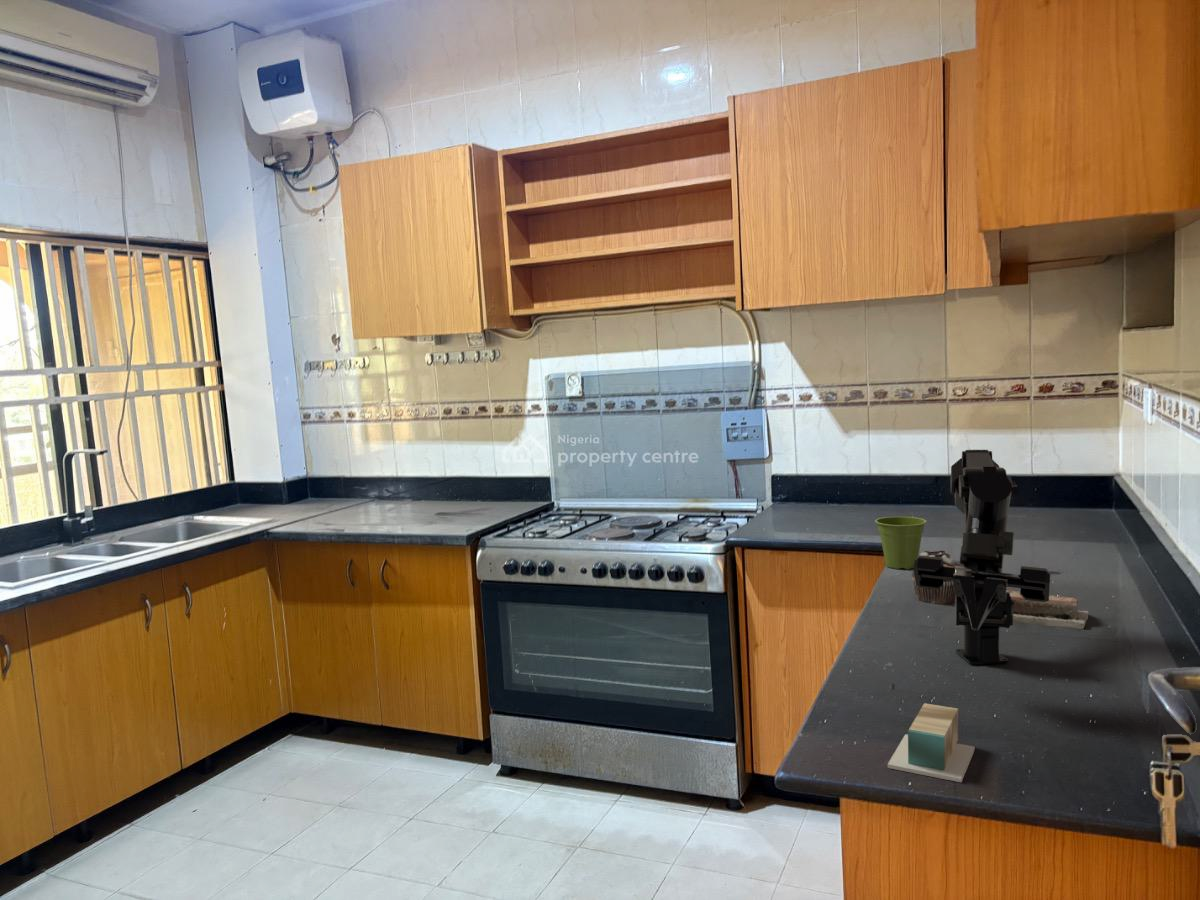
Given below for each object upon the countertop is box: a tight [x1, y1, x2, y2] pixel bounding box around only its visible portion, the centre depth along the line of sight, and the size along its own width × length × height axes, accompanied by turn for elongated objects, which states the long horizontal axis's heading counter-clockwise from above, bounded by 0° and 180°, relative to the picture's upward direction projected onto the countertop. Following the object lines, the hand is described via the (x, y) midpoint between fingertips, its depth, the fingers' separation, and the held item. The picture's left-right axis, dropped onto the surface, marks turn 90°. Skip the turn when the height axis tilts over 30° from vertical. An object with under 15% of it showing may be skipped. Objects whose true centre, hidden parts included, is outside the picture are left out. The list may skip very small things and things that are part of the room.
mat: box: [887, 733, 976, 783], centre depth 118 cm, size 10×9×1 cm
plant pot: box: [874, 516, 927, 570], centre depth 217 cm, size 12×12×11 cm
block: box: [907, 703, 959, 770], centre depth 119 cm, size 4×4×10 cm
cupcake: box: [911, 550, 956, 605], centre depth 189 cm, size 10×10×10 cm
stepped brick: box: [1006, 589, 1089, 630], centre depth 174 cm, size 18×5×10 cm
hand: (975, 629), depth 131 cm, fingers closed
